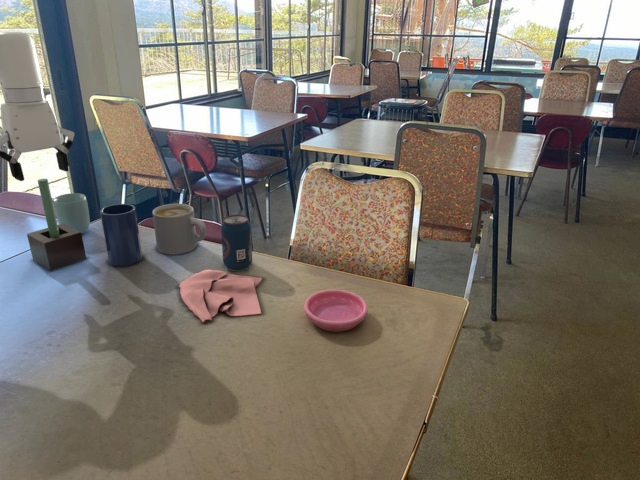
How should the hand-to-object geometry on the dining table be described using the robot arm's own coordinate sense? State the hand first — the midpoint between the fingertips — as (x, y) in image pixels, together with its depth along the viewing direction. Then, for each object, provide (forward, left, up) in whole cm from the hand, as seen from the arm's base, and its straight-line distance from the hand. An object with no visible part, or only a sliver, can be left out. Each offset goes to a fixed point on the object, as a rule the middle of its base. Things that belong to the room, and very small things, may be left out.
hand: (42, 174), depth 108 cm
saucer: (+67, +21, -21) cm, 73 cm away
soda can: (+35, +25, -21) cm, 48 cm away
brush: (0, 0, -21) cm, 21 cm away
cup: (-13, +11, -21) cm, 27 cm away
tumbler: (+12, +10, -21) cm, 26 cm away
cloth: (+43, +12, -21) cm, 50 cm away
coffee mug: (+17, +23, -21) cm, 36 cm away
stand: (0, 0, -21) cm, 21 cm away
